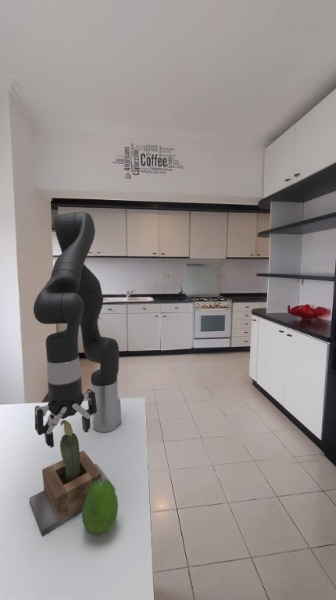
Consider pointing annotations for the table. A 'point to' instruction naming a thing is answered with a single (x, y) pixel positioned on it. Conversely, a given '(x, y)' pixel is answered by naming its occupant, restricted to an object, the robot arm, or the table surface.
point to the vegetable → (70, 452)
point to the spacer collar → (63, 493)
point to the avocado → (100, 507)
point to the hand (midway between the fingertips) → (69, 438)
